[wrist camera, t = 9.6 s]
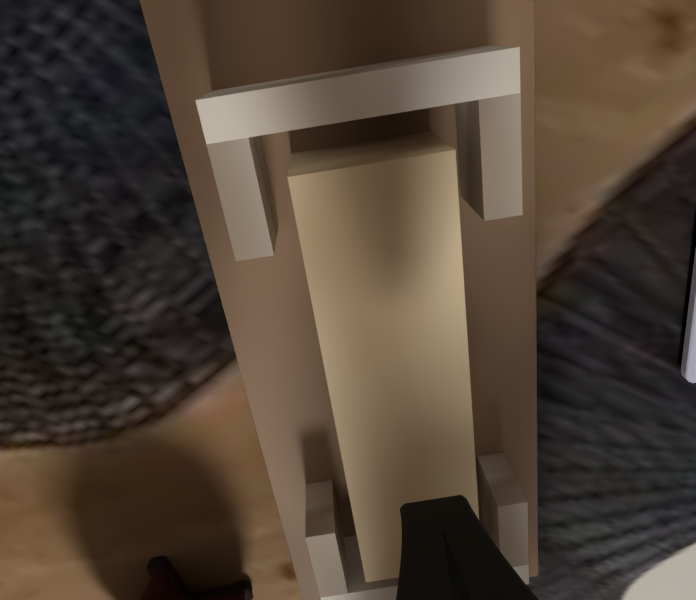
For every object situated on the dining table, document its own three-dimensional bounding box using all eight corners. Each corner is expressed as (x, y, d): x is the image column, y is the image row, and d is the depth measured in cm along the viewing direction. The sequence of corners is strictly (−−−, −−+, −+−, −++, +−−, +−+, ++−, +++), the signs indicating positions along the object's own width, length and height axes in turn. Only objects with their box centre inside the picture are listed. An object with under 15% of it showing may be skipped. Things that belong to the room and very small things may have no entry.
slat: (430, 130, 16) (455, 150, 13) (460, 498, 22) (481, 564, 19) (291, 153, 16) (287, 177, 13) (358, 515, 22) (365, 582, 19)
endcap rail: (513, -84, 15) (577, -122, 12) (525, 546, 25) (562, 631, 22) (147, -24, 15) (97, -42, 12) (306, 581, 26) (306, 671, 22)
